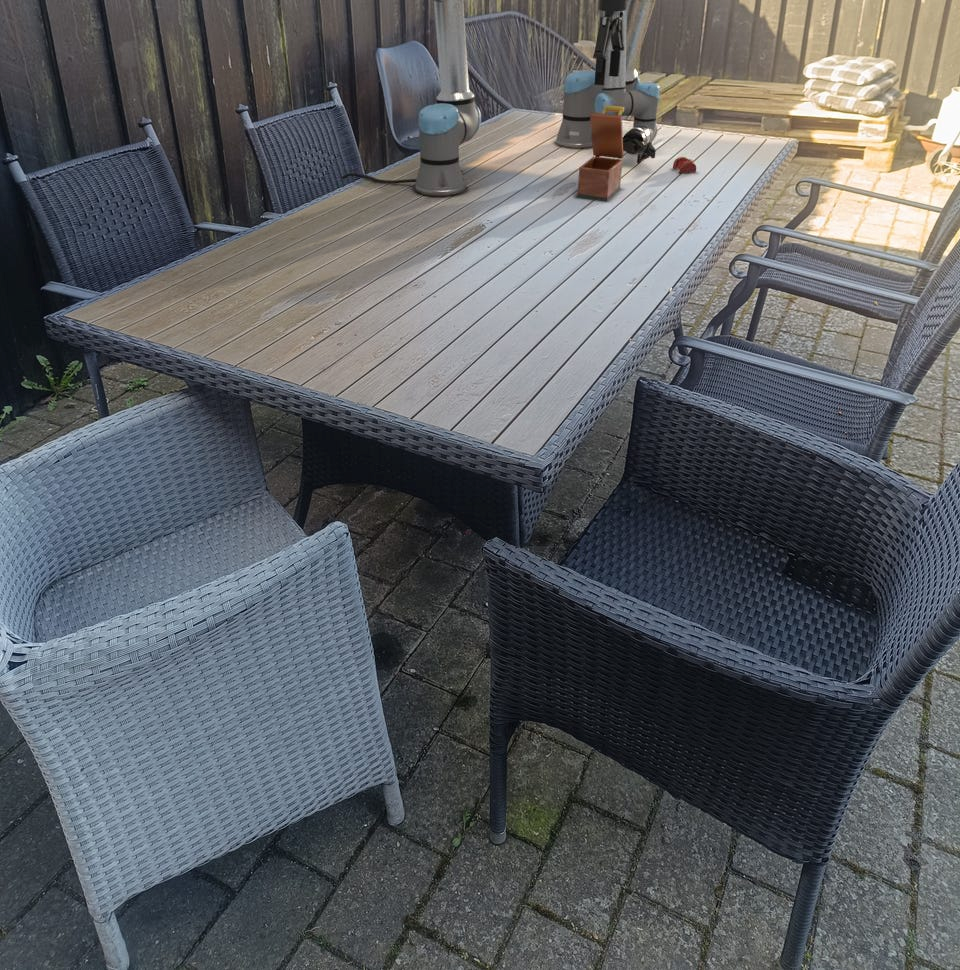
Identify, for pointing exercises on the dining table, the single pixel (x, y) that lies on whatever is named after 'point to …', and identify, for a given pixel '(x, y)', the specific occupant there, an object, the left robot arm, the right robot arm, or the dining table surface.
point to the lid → (607, 132)
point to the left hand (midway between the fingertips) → (606, 80)
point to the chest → (599, 178)
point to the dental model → (684, 165)
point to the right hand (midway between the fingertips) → (617, 156)
